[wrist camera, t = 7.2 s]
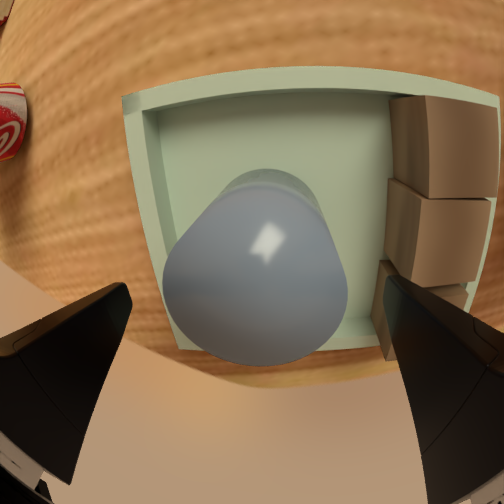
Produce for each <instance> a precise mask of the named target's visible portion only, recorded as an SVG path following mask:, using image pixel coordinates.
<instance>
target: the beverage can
mask: <svg viewBox="0 0 504 504" xmlns="http://www.w3.org/2000/svg"><path fill="white" fill-rule="evenodd" d="M26 122H27V104H26V98H25V95H24V92H23V90H22V88H21V87H20V86H19V85H18V84H16V83H2V84H0V163H1V162H4V161H7V160H9V159H11V158H12V157H14V156H15V154H16V153H17V152H18V150H19V148H20V146H21V143H22V141H23V137H24V133H25V129H26Z"/></svg>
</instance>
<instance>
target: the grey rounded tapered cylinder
mask: <svg viewBox="0 0 504 504" xmlns="http://www.w3.org/2000/svg"><path fill="white" fill-rule="evenodd" d="M162 287H163V295H164V300H165V303H166V306H167V309H168V311H169V313H170V315H171V317H172V319H173V321H174V322H175V324H176V325H177V326H178V328H179V329H180V330H181V331H182V333H183V334H184V335H185V336H186V337H187V338H188V339H189V340H191V341H192V342H193V343H194V344H195V345H197V346H198V347H200V348H201V349H203V350H204V351H206V352H208V353H209V354H211V355H214V356H216V357H218V358H220V359H223V360H226V361H229V362H233V363H237V364H241V365H248V366H274V365H281V364H285V363H289V362H292V361H295V360H298V359H301V358H303V357H305V356H307V355H309V354H311V353H312V352H314V351H316V350H317V349H318V348H320V347H321V346H322V345H323V344H325V343H326V342H327V341H328V340H329V339H330V338H331V336H332V335H333V334H334V333H335V331H336V330H337V328H338V327H339V325H340V323H341V321H342V319H343V316H344V314H345V311H346V306H347V301H348V287H347V280H346V276H345V273H344V269H343V266H342V264H341V261H340V258H339V255H338V252H337V250H336V247H335V244H334V242H333V239H332V236H331V234H330V231H329V228H328V226H327V223H326V221H325V218H324V216H323V213H322V211H321V208H320V206H319V203H318V201H317V199H316V197H315V195H314V194H313V192H312V191H311V189H310V188H309V187H308V186H307V185H306V184H305V183H304V182H303V181H301V180H300V179H299V178H297V177H295V176H294V175H292V174H290V173H287V172H285V171H281V170H277V169H257V170H252V171H249V172H246V173H244V174H241V175H240V176H238V177H236V178H235V179H234V180H232V181H231V182H230V183H229V184H228V185H227V186H226V187H225V188H224V189H223V190H222V191H221V193H220V194H219V195H218V196H217V197H216V198H215V199H214V200H213V201H212V202H211V204H210V205H209V206H208V207H207V208H206V209H205V210H204V211H203V213H202V214H201V215H200V216H199V217H198V218H197V219H196V220H195V222H194V223H193V224H192V225H191V226H190V227H189V228H188V230H187V231H186V232H185V233H184V234H183V235H182V237H181V238H180V239H179V240H178V241H177V243H176V244H175V245H174V247H173V248H172V250H171V252H170V253H169V255H168V258H167V260H166V263H165V266H164V271H163V279H162Z"/></svg>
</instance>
